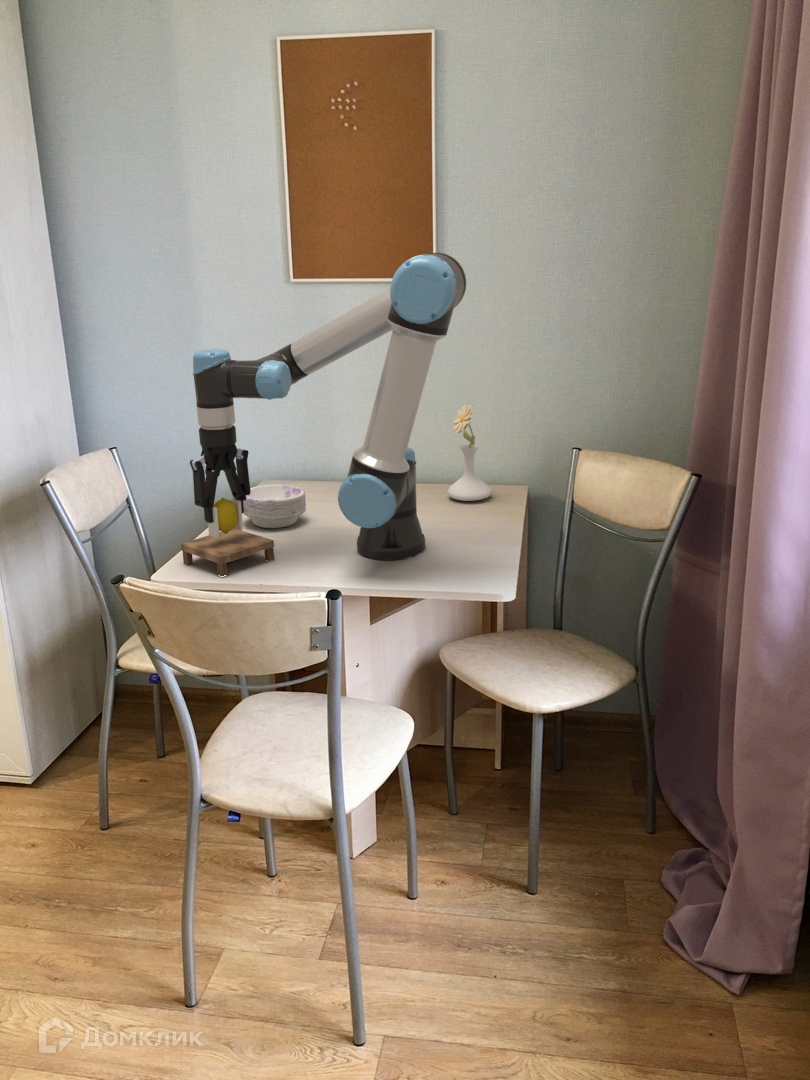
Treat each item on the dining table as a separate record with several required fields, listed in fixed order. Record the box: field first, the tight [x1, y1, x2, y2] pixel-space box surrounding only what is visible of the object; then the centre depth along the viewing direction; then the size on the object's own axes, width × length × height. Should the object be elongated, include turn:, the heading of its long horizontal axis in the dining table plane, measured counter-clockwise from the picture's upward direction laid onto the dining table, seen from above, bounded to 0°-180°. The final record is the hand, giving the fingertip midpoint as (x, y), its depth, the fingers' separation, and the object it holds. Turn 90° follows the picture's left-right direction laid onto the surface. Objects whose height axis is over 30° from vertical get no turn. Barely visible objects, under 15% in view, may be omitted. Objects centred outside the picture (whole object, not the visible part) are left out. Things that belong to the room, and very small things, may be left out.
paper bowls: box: [243, 484, 307, 529], centre depth 236 cm, size 15×15×8 cm
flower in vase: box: [447, 403, 493, 502], centre depth 248 cm, size 13×11×25 cm
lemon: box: [213, 497, 238, 534], centre depth 209 cm, size 6×6×8 cm
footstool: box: [180, 529, 275, 576], centre depth 211 cm, size 14×4×14 cm
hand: (226, 532), depth 210 cm, fingers closed on lemon, 5 cm apart
